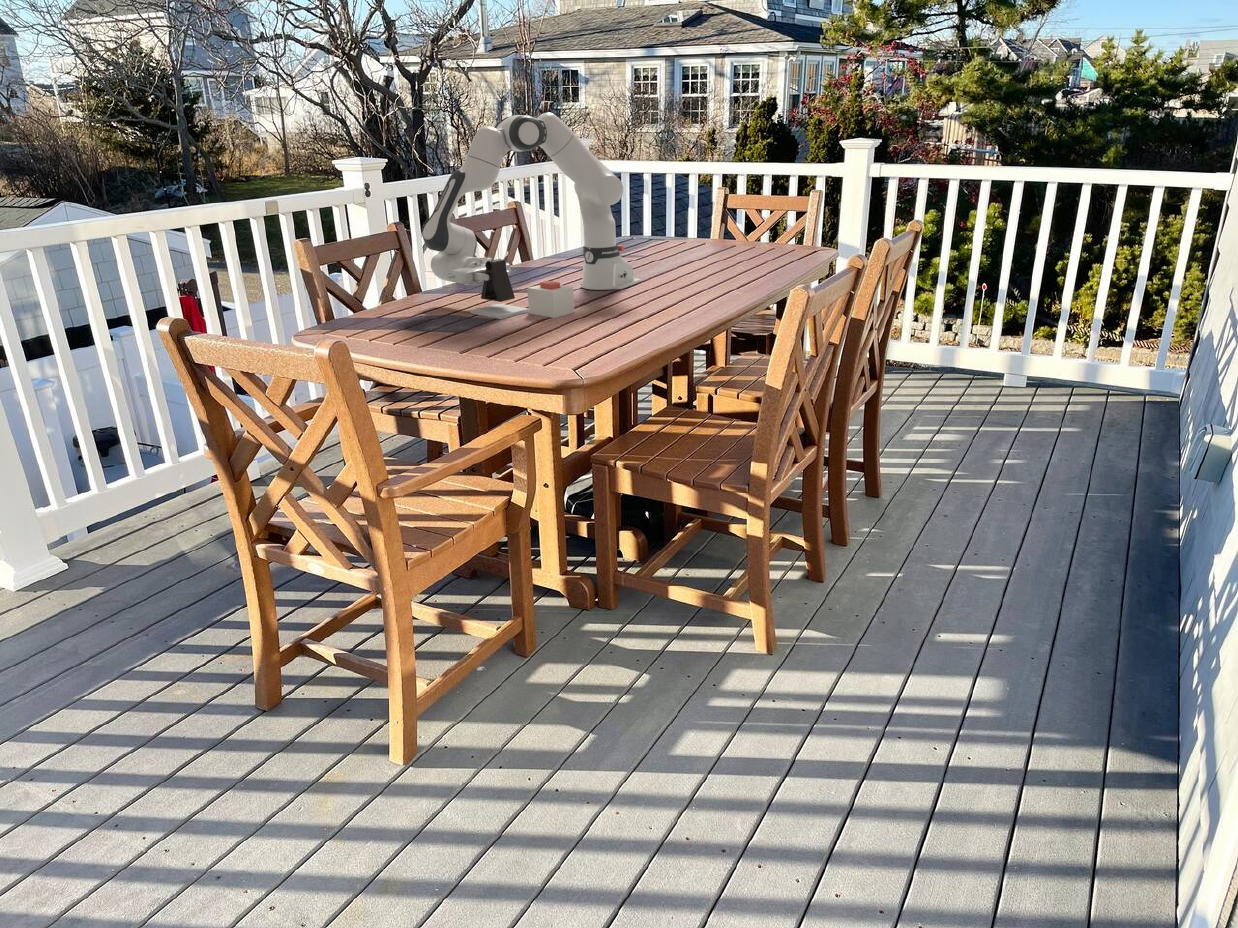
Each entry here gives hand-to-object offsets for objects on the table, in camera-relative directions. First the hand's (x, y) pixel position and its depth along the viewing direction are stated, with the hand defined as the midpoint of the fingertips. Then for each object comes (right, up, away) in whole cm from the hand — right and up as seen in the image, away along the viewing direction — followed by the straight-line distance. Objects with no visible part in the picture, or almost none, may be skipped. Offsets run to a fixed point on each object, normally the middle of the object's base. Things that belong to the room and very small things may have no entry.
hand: (498, 275), depth 278 cm
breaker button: (+16, -5, 0) cm, 17 cm away
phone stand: (-1, -7, +3) cm, 8 cm away
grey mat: (0, -11, +5) cm, 12 cm away
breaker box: (+16, -11, +3) cm, 20 cm away
